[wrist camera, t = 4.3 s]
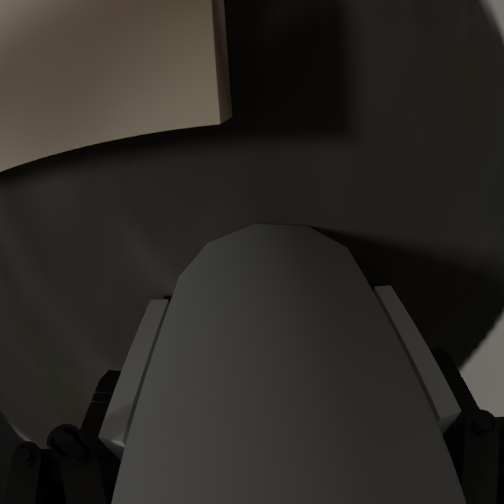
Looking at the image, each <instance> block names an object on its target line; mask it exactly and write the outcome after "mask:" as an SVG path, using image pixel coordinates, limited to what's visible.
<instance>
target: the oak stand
mask: <svg viewBox="0 0 504 504" xmlns="http://www.w3.org/2000/svg"><path fill="white" fill-rule="evenodd" d="M231 117H232V106H231V93H230V79H229V66H228V52H227V38H226V24H225V9H224V0H0V172H1V171H3V170H6V169H9V168H12V167H15V166H18V165H21V164H24V163H27V162H30V161H34V160H37V159H40V158H44V157H47V156H50V155H54V154H58V153H61V152H65V151H69V150H73V149H77V148H81V147H85V146H89V145H93V144H98V143H102V142H107V141H111V140H116V139H121V138H126V137H132V136H137V135H143V134H148V133H155V132H161V131H168V130H174V129H182V128H190V127H198V126H207V125H217V124H221V123H223V122H225V121H226V120H228V119H229V118H231Z"/></svg>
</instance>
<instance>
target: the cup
mask: <svg viewBox="0 0 504 504" xmlns="http://www.w3.org/2000/svg"><path fill="white" fill-rule="evenodd" d="M111 504H466V501H465V497H464V494H463V491H462V488H461V485H460V482H459V479H458V476H457V473H456V470H455V468H454V465H453V462H452V459H451V457H450V454H449V451H448V449H447V446H446V444H445V441H444V438H443V436H442V433H441V431H440V428H439V426H438V424H437V421H436V419H435V416H434V414H433V412H432V409H431V407H430V405H429V402H428V400H427V398H426V396H425V393H424V391H423V389H422V387H421V385H420V382H419V380H418V378H417V376H416V374H415V372H414V370H413V367H412V365H411V363H410V361H409V359H408V357H407V355H406V353H405V351H404V349H403V347H402V345H401V343H400V341H399V339H398V337H397V335H396V333H395V331H394V329H393V327H392V325H391V324H390V322H389V320H388V318H387V316H386V314H385V312H384V310H383V308H382V307H381V305H380V303H379V301H378V299H377V297H376V296H375V294H374V292H373V290H372V288H371V287H370V285H369V283H368V281H367V280H366V278H365V276H364V275H363V273H362V271H361V269H360V268H359V266H358V264H357V263H356V261H355V259H354V258H353V256H352V254H351V253H350V251H349V250H348V248H347V247H345V246H343V245H341V244H340V243H338V242H336V241H334V240H332V239H330V238H329V237H327V236H325V235H323V234H321V233H319V232H317V231H316V230H314V229H312V228H310V227H308V226H298V225H274V224H253V225H251V226H248V227H246V228H243V229H241V230H238V231H236V232H233V233H231V234H228V235H226V236H224V237H221V238H219V239H216V240H214V241H211V242H209V243H207V244H206V246H205V247H204V248H203V249H202V250H201V251H200V253H199V254H198V255H197V256H196V257H195V258H194V260H193V261H192V262H191V263H190V264H189V265H188V267H187V268H186V269H185V270H184V271H183V272H182V274H181V275H180V276H179V279H178V282H177V284H176V287H175V290H174V293H173V295H172V298H171V301H170V304H169V307H168V310H167V312H166V315H165V318H164V321H163V324H162V327H161V330H160V333H159V336H158V339H157V342H156V345H155V348H154V351H153V354H152V357H151V360H150V363H149V366H148V370H147V373H146V376H145V379H144V382H143V386H142V389H141V392H140V396H139V399H138V402H137V406H136V409H135V413H134V416H133V420H132V423H131V427H130V430H129V434H128V438H127V441H126V445H125V449H124V453H123V457H122V461H121V465H120V469H119V473H118V477H117V481H116V485H115V489H114V494H113V498H112V503H111Z"/></svg>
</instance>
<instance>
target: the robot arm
mask: <svg viewBox="0 0 504 504" xmlns="http://www.w3.org/2000/svg"><path fill="white" fill-rule="evenodd" d="M373 292H374V294H375V296H376V297H377V299H378V301H379V303H380V305H381V307H382V308H383V310H384V312H385V314H386V316H387V318H388V320H389V322H390V324H391V325H392V327H393V329H394V331H395V333H396V335H397V337H398V339H399V341H400V343H401V345H402V347H403V349H404V351H405V353H406V355H407V357H408V359H409V361H410V363H411V365H412V367H413V370H414V372H415V374H416V376H417V378H418V380H419V382H420V385H421V387H422V389H423V391H424V393H425V396H426V398H427V400H428V402H429V405H430V407H431V409H432V412H433V414H434V416H435V419H436V421H437V424H438V426H439V428H440V431H441V433H442V436H443V438H444V441H445V444H446V446H447V449H448V451H449V454H450V457H451V459H452V462H453V465H454V468H455V470H456V473H457V476H458V479H459V482H460V485H461V488H462V491H463V494H464V497H465V501H466V504H504V417H494V416H493V415H492V414H491V413H489V412H488V411H485V410H480V409H479V407H478V406H477V404H476V402H475V400H474V398H473V396H472V394H471V393H470V391H469V389H468V387H467V385H466V383H465V381H464V380H463V378H462V377H461V374H460V373H459V371H458V369H456V366H455V364H454V362H453V360H452V359H451V357H450V356H449V355H448V354H447V353H446V352H445V351H443V350H442V349H441V348H438V349H433V350H429V348H428V346H427V345H426V343H425V341H424V339H423V338H422V336H421V334H420V332H419V331H418V329H417V327H416V326H415V324H414V322H413V321H412V319H411V317H410V316H409V314H408V312H407V311H406V309H405V307H404V306H403V304H402V303H401V301H400V299H399V298H398V296H397V295H396V293H395V292H394V290H393V288H392V287H391V285H387V286H377V287H374V291H373ZM168 307H169V301H168V299H160V300H151V301H150V303H149V305H148V308H147V310H146V312H145V315H144V317H143V319H142V322H141V324H140V327H139V329H138V331H137V334H136V336H135V339H134V341H133V344H132V346H131V348H130V351H129V353H128V356H127V359H126V361H125V364H124V366H123V369H122V371H113V370H109V371H108V372H107V373H106V374H105V375H104V376H103V377H102V378H101V379H100V381H99V383H98V386H97V388H96V391H95V392H96V393H94V395H93V398H92V403H90V405H89V408H88V411H87V413H86V416H85V418H84V421H83V424H82V426H81V429H80V430H79V429H78V428H77V427H76V426H73V425H71V424H63V425H60V426H57V427H56V428H55V429H53V430H52V431H51V433H50V434H49V436H48V438H47V444H46V445H47V446H48V447H49V448H50V449H40V448H39V447H38V446H37V445H36V444H35V443H33V442H30V441H26V442H22V443H20V444H19V445H18V446H17V447H16V448H15V450H14V452H13V455H12V459H11V463H10V468H9V473H8V479H7V484H6V490H5V497H4V504H111V503H112V498H113V494H114V489H115V485H116V481H117V477H118V473H119V469H120V465H121V461H122V457H123V453H124V449H125V445H126V441H127V438H128V434H129V430H130V427H131V423H132V420H133V416H134V413H135V409H136V406H137V402H138V399H139V396H140V392H141V389H142V386H143V382H144V379H145V376H146V373H147V370H148V366H149V363H150V360H151V357H152V354H153V351H154V348H155V345H156V342H157V339H158V336H159V333H160V330H161V327H162V324H163V321H164V318H165V315H166V312H167V310H168Z"/></svg>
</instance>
